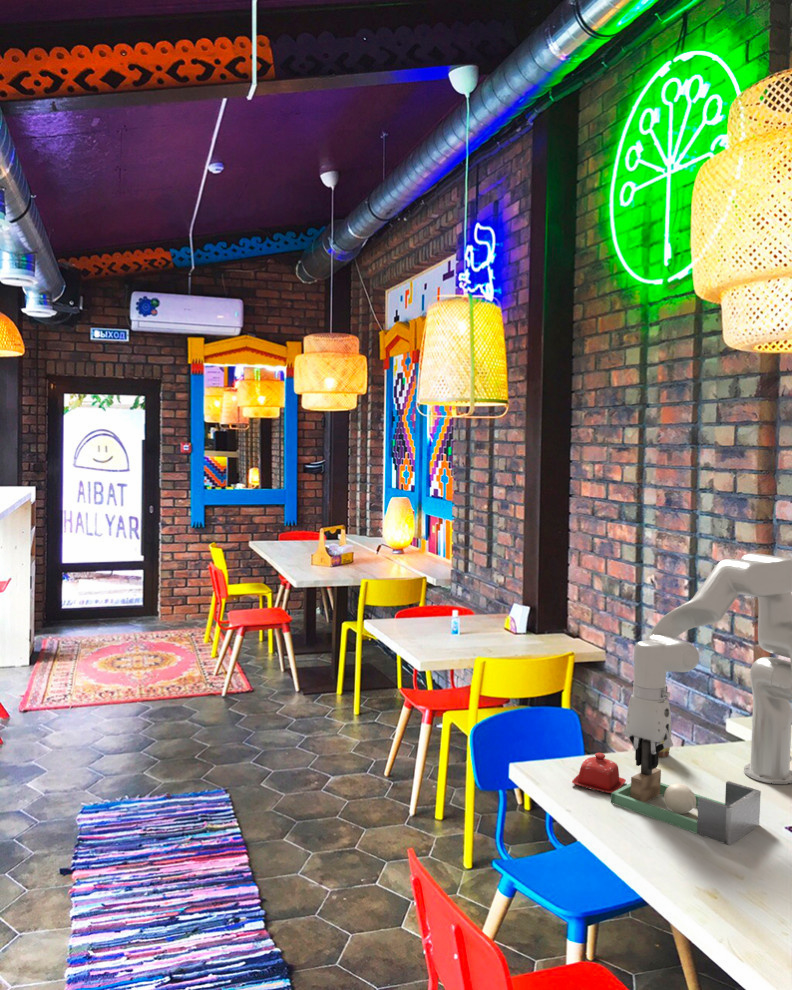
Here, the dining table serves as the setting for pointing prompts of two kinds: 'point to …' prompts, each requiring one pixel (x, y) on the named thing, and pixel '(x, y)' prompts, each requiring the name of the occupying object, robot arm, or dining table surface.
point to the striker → (646, 778)
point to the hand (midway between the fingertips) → (646, 765)
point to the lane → (655, 808)
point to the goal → (729, 814)
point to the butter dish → (599, 774)
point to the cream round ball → (679, 798)
